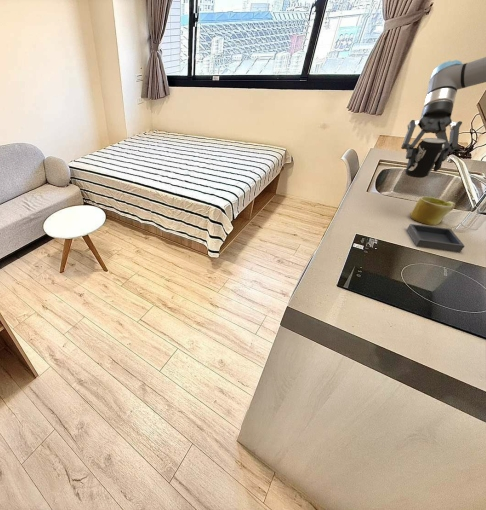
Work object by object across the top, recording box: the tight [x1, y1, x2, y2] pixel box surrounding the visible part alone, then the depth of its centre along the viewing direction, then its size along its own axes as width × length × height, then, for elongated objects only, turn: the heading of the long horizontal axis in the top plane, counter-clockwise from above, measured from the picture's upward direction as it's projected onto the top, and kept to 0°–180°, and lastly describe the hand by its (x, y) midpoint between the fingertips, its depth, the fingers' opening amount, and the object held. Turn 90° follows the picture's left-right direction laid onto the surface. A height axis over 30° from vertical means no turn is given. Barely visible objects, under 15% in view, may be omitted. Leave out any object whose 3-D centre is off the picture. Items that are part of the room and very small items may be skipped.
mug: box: [410, 195, 456, 226], centre depth 102 cm, size 12×10×10 cm
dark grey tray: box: [406, 223, 466, 254], centre depth 93 cm, size 11×11×3 cm
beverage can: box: [404, 137, 445, 179], centre depth 95 cm, size 7×7×12 cm
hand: (423, 168), depth 94 cm, fingers closed on beverage can, 6 cm apart
